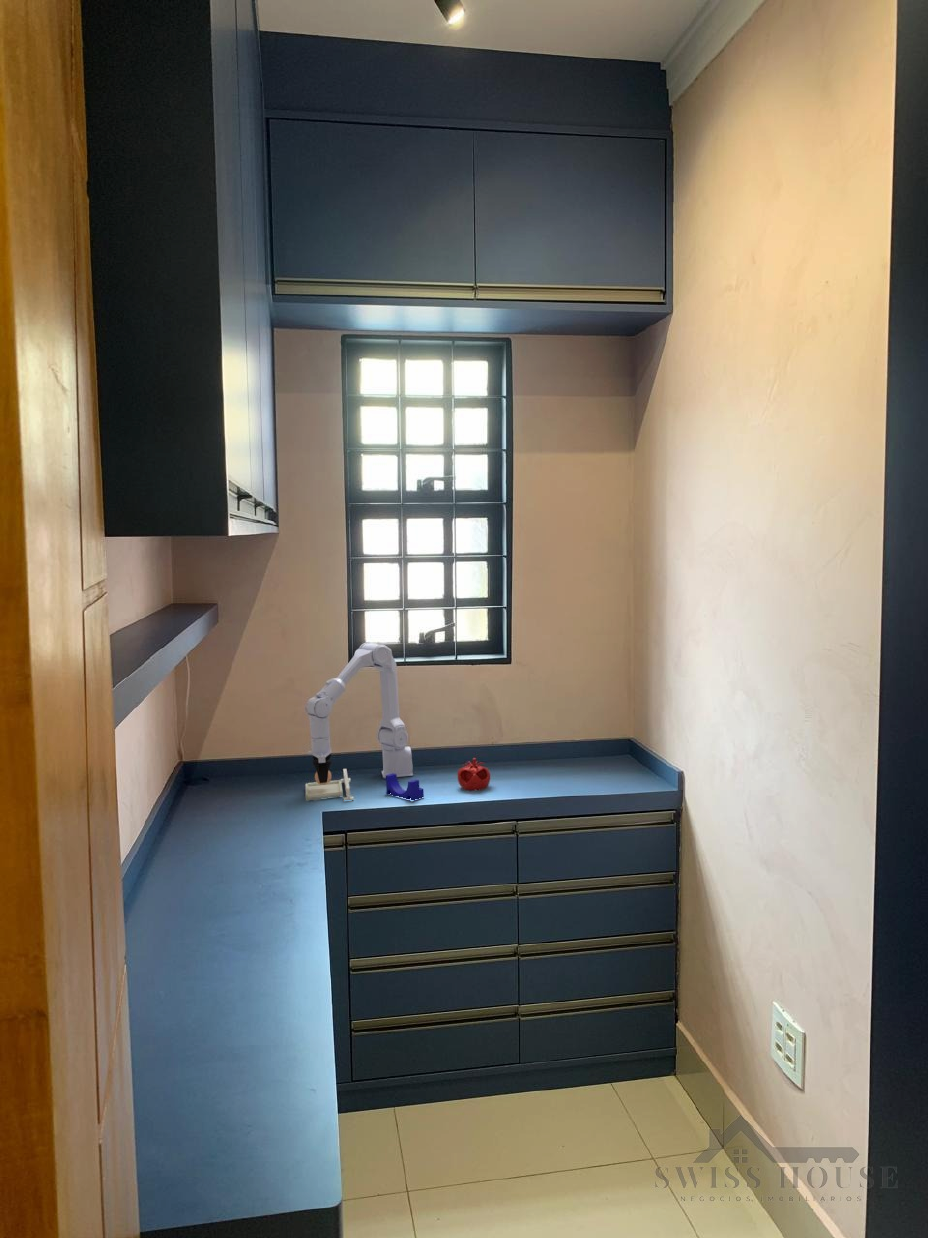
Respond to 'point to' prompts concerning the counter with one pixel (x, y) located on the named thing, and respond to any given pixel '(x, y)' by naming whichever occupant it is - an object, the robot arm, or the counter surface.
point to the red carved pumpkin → (473, 776)
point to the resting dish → (323, 790)
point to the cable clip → (396, 789)
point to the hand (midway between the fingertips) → (323, 780)
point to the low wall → (346, 785)
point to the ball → (327, 779)
